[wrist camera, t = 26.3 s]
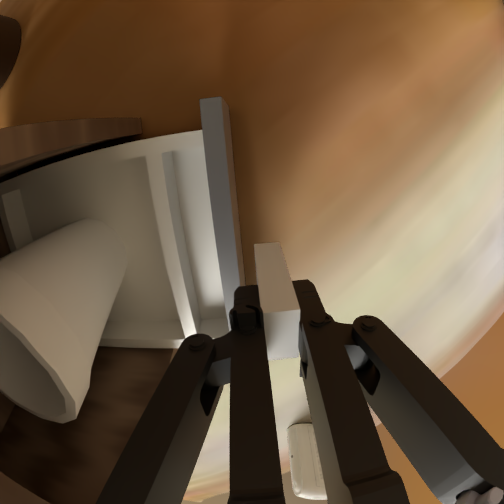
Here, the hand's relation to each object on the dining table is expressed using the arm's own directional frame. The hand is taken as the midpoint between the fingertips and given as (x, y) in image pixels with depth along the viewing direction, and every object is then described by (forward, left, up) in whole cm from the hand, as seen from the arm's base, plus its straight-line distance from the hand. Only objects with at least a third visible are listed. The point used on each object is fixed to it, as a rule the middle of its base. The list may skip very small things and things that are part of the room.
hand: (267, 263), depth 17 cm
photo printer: (+7, -32, -6) cm, 33 cm away
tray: (-12, 0, -5) cm, 13 cm away
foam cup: (-14, 0, -4) cm, 14 cm away
